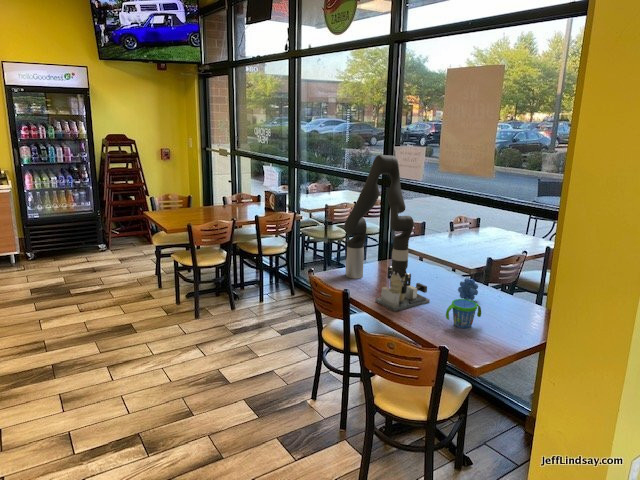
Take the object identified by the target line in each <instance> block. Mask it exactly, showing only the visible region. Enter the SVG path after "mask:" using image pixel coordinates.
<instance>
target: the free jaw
mask: <svg viewBox="0 0 640 480" xmlns="http://www.w3.org/2000/svg"><path fill="white" fill-rule="evenodd" d="M418 291H420V292H422V293H423V294H424V293H426V294H427V292H428V286H427V285H424V284H422V283H421V282H417V283H416V284H415V286H413V285H411V284H410V286H407V289H406V293H405V298H407V299H409V300H411V301H412V300H416V299H417V294H418Z"/></svg>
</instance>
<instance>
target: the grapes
mask: <svg viewBox="0 0 640 480" xmlns="http://www.w3.org/2000/svg"><path fill="white" fill-rule="evenodd" d="M478 289H479V285H478V284H477V283H476V280H475V279H474V278H471V279H470V278H469V277H466V278H464V281H463V280H462V281H460V282H459V287H458V289H457V291H458V293H459V299H467V300H471V301H473V300H475V296H477V295H478V294H479V291H478Z"/></svg>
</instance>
